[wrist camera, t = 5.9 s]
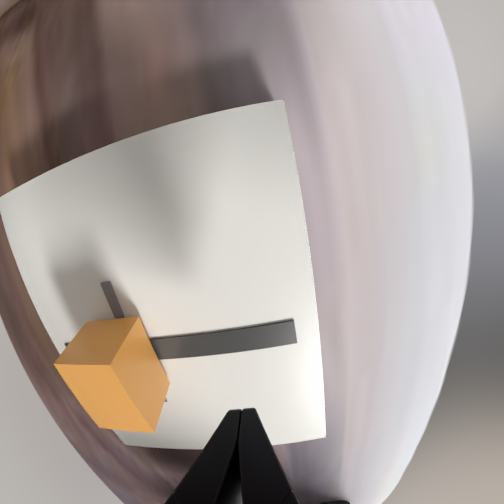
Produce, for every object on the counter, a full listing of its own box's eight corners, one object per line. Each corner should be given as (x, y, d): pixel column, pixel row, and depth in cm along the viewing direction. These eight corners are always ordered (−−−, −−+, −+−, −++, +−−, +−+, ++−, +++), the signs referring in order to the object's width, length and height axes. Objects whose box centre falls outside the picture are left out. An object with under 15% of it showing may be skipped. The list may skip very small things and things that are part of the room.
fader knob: (170, 382, 13) (154, 433, 10) (120, 383, 13) (99, 427, 10) (138, 316, 12) (109, 364, 9) (86, 321, 12) (53, 363, 9)
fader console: (320, 408, 17) (326, 438, 15) (134, 420, 18) (124, 445, 16) (278, 108, 11) (283, 98, 9) (26, 189, 12) (-5, 199, 10)
